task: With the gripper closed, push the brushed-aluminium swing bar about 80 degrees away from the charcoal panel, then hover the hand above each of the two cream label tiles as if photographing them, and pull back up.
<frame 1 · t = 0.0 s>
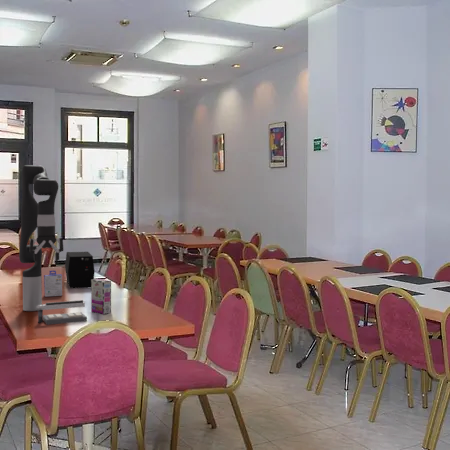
hand: (46, 261, 262), 29 cm above the table, fingers open, 8 cm apart
label panel: (64, 320, 279), on the table
pivot post: (40, 322, 274), on the table
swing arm: (60, 305, 277), point 7 cm above the table, hinge at 0.0°
ink cartridge box: (53, 296, 346), on the table
candy bar box: (101, 313, 297), on the table
uninterruptible power supply: (79, 284, 390), on the table
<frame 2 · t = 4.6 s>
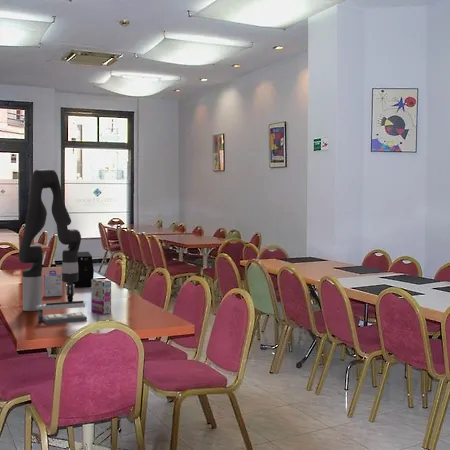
hand: (70, 307, 282), 5 cm above the table, fingers closed
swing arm: (60, 305, 277), point 7 cm above the table, hinge at 2.8°, touching gripper
everything else where it was.
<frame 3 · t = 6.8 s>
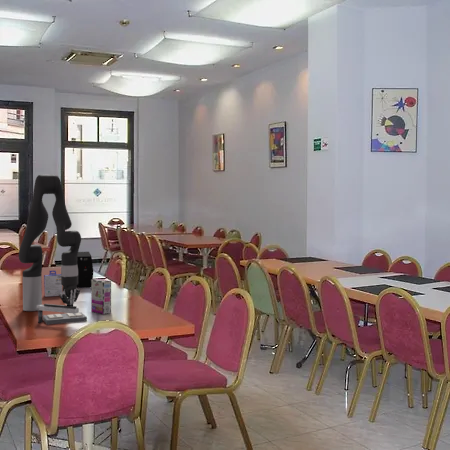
hand: (70, 312, 272), 5 cm above the table, fingers closed
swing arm: (56, 308, 270), point 7 cm above the table, hinge at 47.4°, touching gripper
everything else where it was.
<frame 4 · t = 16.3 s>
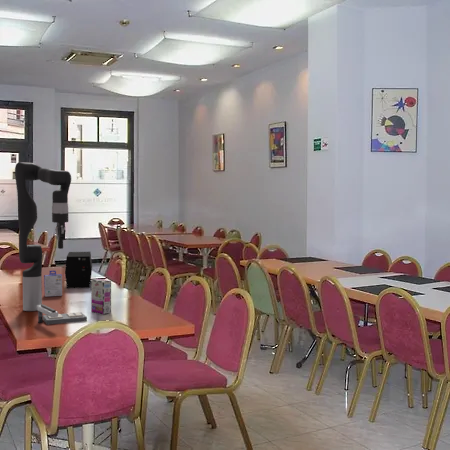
hand: (60, 248, 285), 33 cm above the table, fingers closed
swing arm: (46, 309, 266), point 7 cm above the table, hinge at 81.1°
at the end: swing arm at +81° (first picture: +0°); candy bar box moved 0.2 cm from its start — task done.
